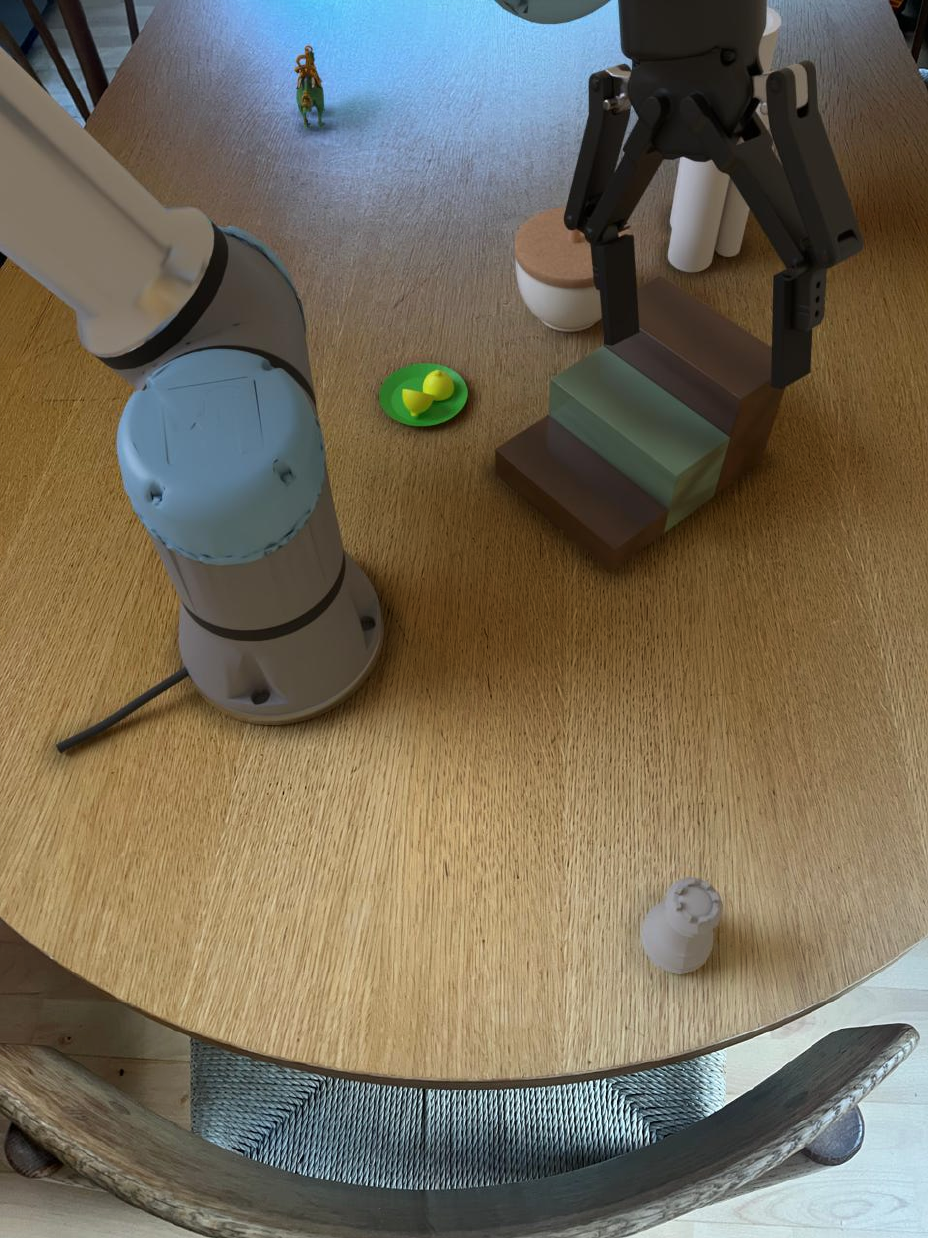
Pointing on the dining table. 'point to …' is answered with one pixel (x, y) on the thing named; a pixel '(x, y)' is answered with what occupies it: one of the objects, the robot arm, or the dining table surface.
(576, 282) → the trinket box
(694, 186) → the vase
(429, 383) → the green plate with lemons
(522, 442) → the step shelf
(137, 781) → the dining table surface
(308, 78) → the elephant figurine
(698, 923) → the rook chess piece
